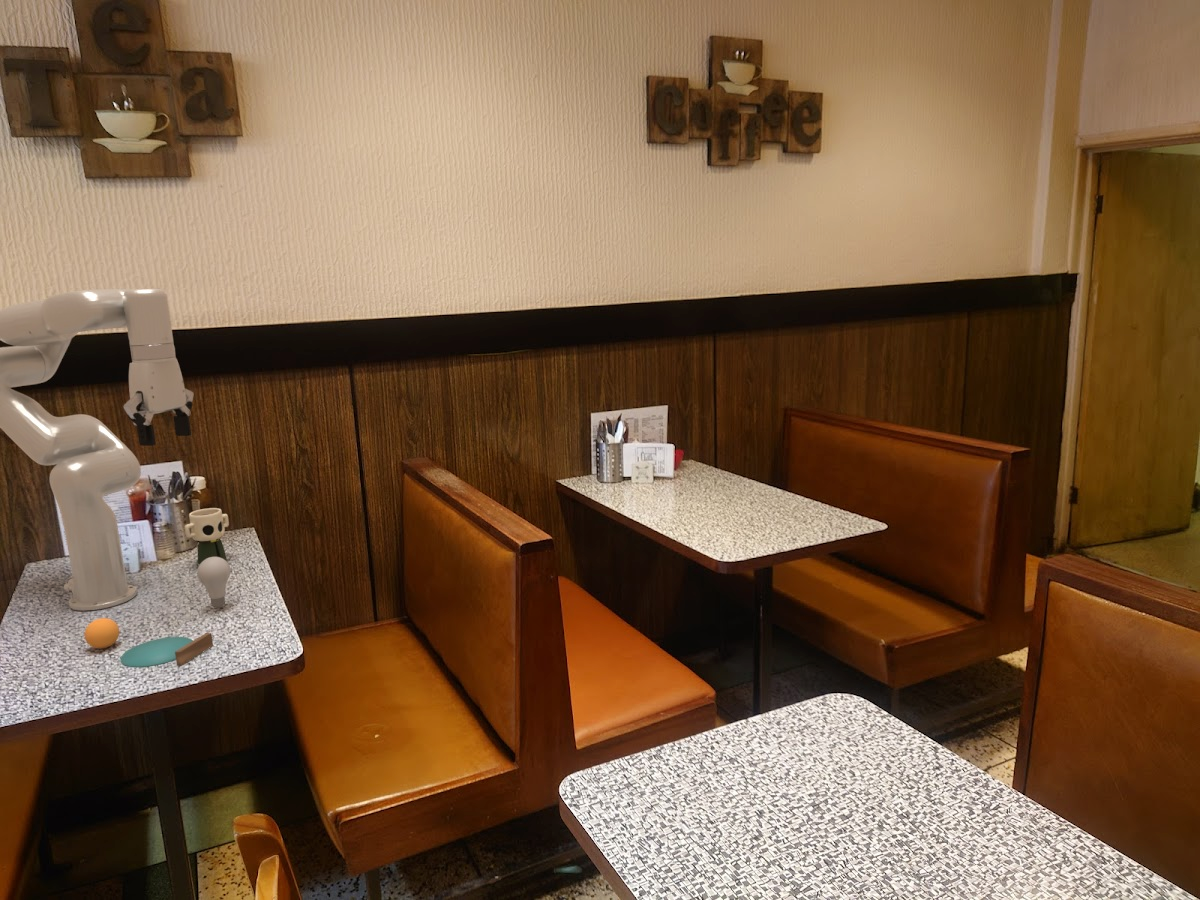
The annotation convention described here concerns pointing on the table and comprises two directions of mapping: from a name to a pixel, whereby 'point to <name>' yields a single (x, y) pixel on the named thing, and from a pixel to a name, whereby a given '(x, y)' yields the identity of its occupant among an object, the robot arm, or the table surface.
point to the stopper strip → (193, 649)
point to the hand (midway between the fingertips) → (166, 440)
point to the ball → (101, 633)
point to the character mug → (208, 532)
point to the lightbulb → (214, 579)
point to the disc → (154, 652)
